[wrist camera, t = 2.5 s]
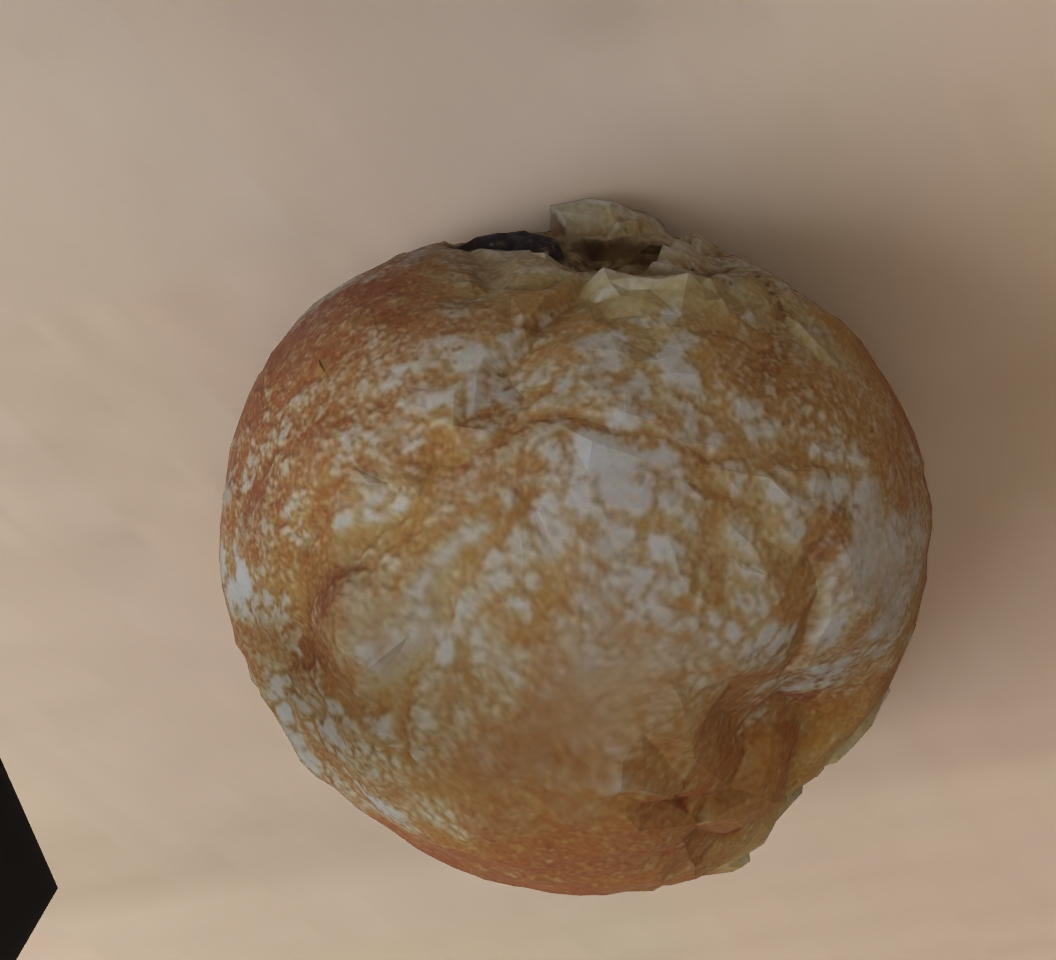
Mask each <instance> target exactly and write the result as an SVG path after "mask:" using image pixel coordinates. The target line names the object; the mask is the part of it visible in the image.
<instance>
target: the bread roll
mask: <svg viewBox="0 0 1056 960" xmlns="http://www.w3.org/2000/svg"><path fill="white" fill-rule="evenodd" d="M550 224H551V230H550V231H548V232H538V233H529V232H526V231H518V232H511V233H496V234H491V235H486V236H481V237H476V238H474V239H472V240H471V241H469V242H468V243H460V244H456V245H452V244H449V243H447V242H445V241H443V242H441V243H436V244H432V245H428V246H424V247H421V248H419V249H416V250H413V251H411V252H408V253H402V254H399V255H396V256H395V257H393V258H392V259H391V260H389V261H387V262H385V263H383V264H381V265H379V266H377V267H375V268H373V269H371V270H369V271H367V272H365V273H363V274H361V275H358V276H356V277H354V278H353V279H351V280H349V281H348V282H346V283H345V284H343V285H341V286H340V287H338V288H336V289H335V290H333V291H332V292H330V293H329V294H327V295H326V296H324V297H323V298H321V299H320V300H319V301H317V302H316V303H314V304H313V305H312V306H311V307H310V308H309V309H308V310H307V311H306V312H305V313H304V314H303V315H302V316H301V317H300V318H299V320H298V321H297V322H296V323H295V324H294V326H293V327H292V328H291V330H290V331H289V332H288V333H287V335H286V336H285V337H284V339H283V340H282V341H281V342H280V344H279V345H278V346H277V347H276V349H275V350H274V351H273V352H272V353H271V355H270V357H269V359H268V361H267V363H266V365H265V367H264V369H263V371H262V372H261V373H260V374H259V375H258V377H257V379H256V381H255V383H254V386H253V388H252V390H251V392H250V394H249V396H248V399H247V401H246V404H245V407H244V409H243V412H242V415H241V418H240V420H239V423H238V426H237V429H236V432H235V435H234V438H233V441H232V444H231V447H230V453H229V461H228V469H227V477H226V485H225V490H224V494H223V508H222V516H221V525H220V552H219V561H220V570H221V580H222V588H223V592H224V596H225V600H226V604H227V608H228V612H229V615H230V619H231V623H232V626H233V631H234V636H235V641H236V645H237V646H238V647H239V649H240V650H241V652H242V653H243V655H244V656H245V658H246V661H247V664H248V668H249V672H250V676H251V680H252V682H253V683H254V684H255V685H256V686H257V687H258V688H259V691H260V694H261V696H262V698H263V699H264V700H265V702H266V703H267V705H268V706H269V707H270V709H271V710H272V711H273V713H274V714H275V716H276V718H277V720H278V721H279V723H280V725H281V727H282V728H283V730H284V732H285V734H286V735H287V737H288V738H289V740H290V742H291V744H292V746H293V748H294V750H295V752H296V753H297V755H298V757H299V759H300V761H301V762H302V763H303V764H304V765H305V766H306V767H307V768H308V769H309V770H310V771H311V772H312V773H313V774H314V775H315V776H316V777H318V778H320V779H321V780H323V781H325V782H326V783H328V784H330V785H331V786H333V787H334V788H336V789H337V790H338V791H339V792H340V793H341V794H342V795H343V796H345V797H346V798H347V799H348V800H349V801H350V802H351V803H352V804H354V805H355V806H356V807H357V808H358V809H359V810H361V811H362V812H364V813H366V814H367V815H369V816H370V817H372V818H374V819H375V820H377V821H378V822H380V823H382V824H383V825H385V826H386V827H388V828H389V829H391V830H392V831H393V832H395V833H396V834H398V835H399V836H400V837H402V838H403V839H405V840H406V841H407V842H409V843H410V844H411V845H413V846H414V847H416V848H417V849H419V850H421V851H422V852H424V853H426V854H428V855H430V856H432V857H434V858H435V859H437V860H439V861H441V862H444V863H446V864H448V865H450V866H452V867H454V868H456V869H459V870H462V871H464V872H467V873H470V874H473V875H475V876H478V877H480V878H482V879H484V880H489V881H494V882H498V883H503V884H508V885H512V886H519V887H526V888H530V889H535V890H540V891H544V892H549V893H557V894H568V895H579V896H581V895H608V894H614V893H620V892H626V891H653V890H655V889H657V888H659V887H661V886H663V885H673V884H677V883H681V882H685V881H689V880H693V879H696V878H698V877H700V876H704V875H711V874H718V873H725V872H733V871H735V870H737V869H739V868H741V867H743V866H744V865H745V864H747V863H748V862H749V861H750V857H749V853H750V852H751V851H753V850H754V849H756V848H757V847H759V846H761V845H762V844H764V842H765V840H766V839H767V837H768V835H769V834H770V832H771V830H772V828H773V826H774V824H775V822H776V821H777V820H778V818H779V817H780V816H781V815H782V814H783V813H784V812H785V811H786V810H787V808H788V807H789V806H790V805H791V804H792V803H793V802H794V801H795V800H796V799H797V797H798V796H799V795H800V794H801V793H802V788H803V785H804V784H806V783H807V782H809V781H810V780H811V779H813V778H814V777H817V776H818V775H819V774H820V773H821V771H822V770H823V769H824V767H825V766H826V765H828V764H832V763H836V762H838V761H839V760H840V759H841V758H842V757H843V756H844V755H845V754H846V753H847V752H848V751H849V750H850V749H851V748H852V747H853V746H854V745H855V744H856V743H857V741H858V740H859V739H860V738H861V737H862V736H863V735H864V733H865V732H866V731H867V730H868V729H869V728H870V727H871V726H872V724H873V722H874V719H875V717H876V715H877V713H878V711H879V709H880V707H881V705H882V703H883V701H884V700H885V698H886V696H887V694H888V693H889V691H890V689H889V686H890V683H891V681H892V679H893V677H894V674H895V672H896V670H897V668H898V665H899V663H900V661H901V659H902V656H903V654H904V652H905V649H906V647H907V645H908V642H909V640H910V638H911V635H912V633H913V631H914V628H915V626H916V621H917V617H918V612H919V608H920V603H921V599H922V595H923V591H924V588H925V584H926V580H927V553H928V547H929V542H930V536H931V530H932V505H931V501H930V495H929V492H928V489H927V485H926V481H925V477H924V462H923V459H922V455H921V452H920V449H919V446H918V443H917V440H916V437H915V434H914V431H913V429H912V427H911V425H910V423H909V421H908V419H907V417H906V415H905V413H904V411H903V409H902V407H901V405H900V403H899V401H898V399H897V397H896V395H895V393H894V392H893V390H892V388H891V387H890V385H889V383H888V382H887V380H886V379H885V377H884V376H883V374H882V373H881V371H880V370H879V368H878V367H877V365H876V364H875V362H874V360H873V359H872V357H871V356H870V354H869V353H868V351H867V349H866V348H865V346H864V345H863V343H862V342H861V340H860V339H859V338H858V337H857V336H856V335H855V334H854V333H853V332H852V331H851V330H850V329H849V328H848V327H847V326H846V325H845V324H844V323H843V322H842V321H840V320H839V319H837V318H835V317H834V316H832V315H830V314H829V313H827V312H826V311H824V310H823V309H821V308H820V307H819V306H817V305H816V304H814V303H813V302H811V301H810V300H808V299H807V298H806V297H804V296H802V295H801V294H799V293H797V291H796V290H792V288H791V287H790V285H788V284H787V283H785V282H784V281H782V280H781V279H779V278H778V277H776V276H774V275H773V274H771V273H770V272H768V271H767V270H765V269H762V268H759V267H756V266H753V265H752V264H751V263H750V262H749V261H748V260H747V259H746V258H745V257H744V258H738V257H736V256H733V255H727V254H726V253H725V252H723V251H722V250H720V249H719V248H717V247H716V246H714V245H713V244H712V243H710V242H709V241H708V240H706V239H705V238H704V237H702V236H701V235H700V234H698V233H697V232H696V231H695V232H693V233H692V234H690V235H688V236H687V237H683V238H680V239H675V238H674V237H672V236H671V235H669V233H668V232H667V230H666V229H665V227H664V226H663V225H662V224H661V222H660V221H659V220H658V219H656V218H654V217H652V216H650V215H648V214H646V213H645V212H641V211H634V210H630V209H628V208H626V207H624V206H621V205H619V204H617V203H615V202H613V201H606V200H597V199H583V200H578V201H572V202H567V203H561V204H556V205H550Z"/></svg>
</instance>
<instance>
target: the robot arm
mask: <svg viewBox="0 0 1056 960" xmlns="http://www.w3.org/2000/svg"><path fill="white" fill-rule="evenodd" d="M57 888H58V887H57V885H56V883H55V880H54V878H53V876H52V874H51V871H50V869H49V867H48V865H47V862H46V860H45V858H44V856H43V853H42V851H41V849H40V847H39V844H38V842H37V840H36V838H35V835H34V833H33V831H32V829H31V826H30V824H29V822H28V819H27V817H26V815H25V813H24V810H23V808H22V806H21V804H20V801H19V799H18V797H17V795H16V792H15V790H14V788H13V786H12V783H11V781H10V779H9V777H8V774H7V772H6V770H5V768H4V765H3V763H2V761H1V759H0V960H16V959H17V957H18V956H19V954H20V952H21V950H22V949H23V947H24V945H25V944H26V942H27V940H28V938H29V937H30V935H31V933H32V932H33V930H34V928H35V926H36V925H37V923H38V921H39V919H40V918H41V916H42V914H43V913H44V911H45V909H46V907H47V906H48V904H49V902H50V901H51V899H52V897H53V895H54V894H55V892H56V890H57Z"/></svg>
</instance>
